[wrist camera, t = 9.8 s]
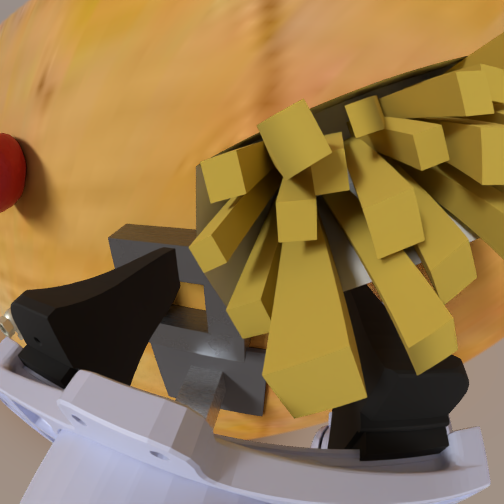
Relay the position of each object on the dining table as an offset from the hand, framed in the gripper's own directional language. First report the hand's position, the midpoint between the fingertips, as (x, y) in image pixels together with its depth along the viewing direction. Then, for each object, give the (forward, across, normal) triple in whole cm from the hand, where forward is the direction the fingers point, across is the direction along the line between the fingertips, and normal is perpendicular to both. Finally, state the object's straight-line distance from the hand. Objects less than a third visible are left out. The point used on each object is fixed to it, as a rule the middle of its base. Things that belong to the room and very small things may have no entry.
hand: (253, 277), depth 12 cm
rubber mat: (+10, +7, +23) cm, 26 cm away
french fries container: (+11, -4, -6) cm, 13 cm away
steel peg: (+10, +7, +22) cm, 26 cm away
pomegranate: (+11, +32, -4) cm, 34 cm away
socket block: (+10, +8, +9) cm, 16 cm away
